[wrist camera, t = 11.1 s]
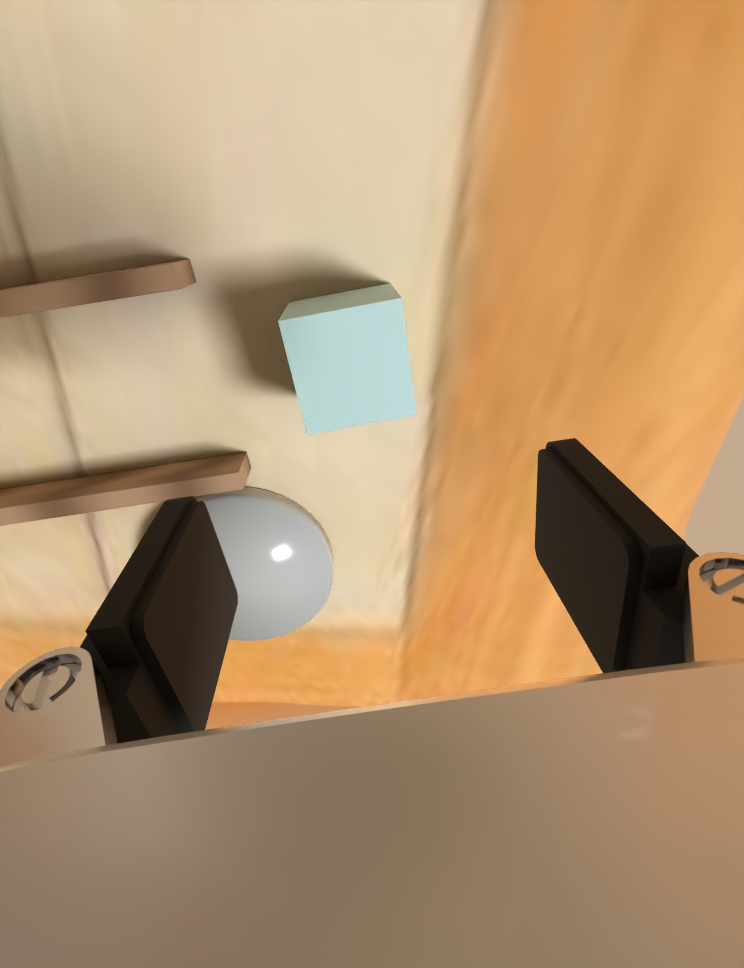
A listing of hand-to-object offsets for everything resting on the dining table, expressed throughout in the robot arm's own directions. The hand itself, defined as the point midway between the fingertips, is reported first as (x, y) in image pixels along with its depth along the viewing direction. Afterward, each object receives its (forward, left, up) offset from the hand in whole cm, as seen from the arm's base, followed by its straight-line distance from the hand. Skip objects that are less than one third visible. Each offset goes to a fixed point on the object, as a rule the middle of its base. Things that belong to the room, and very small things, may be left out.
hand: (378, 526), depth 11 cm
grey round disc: (+9, +12, -16) cm, 22 cm away
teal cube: (0, 0, -16) cm, 16 cm away
